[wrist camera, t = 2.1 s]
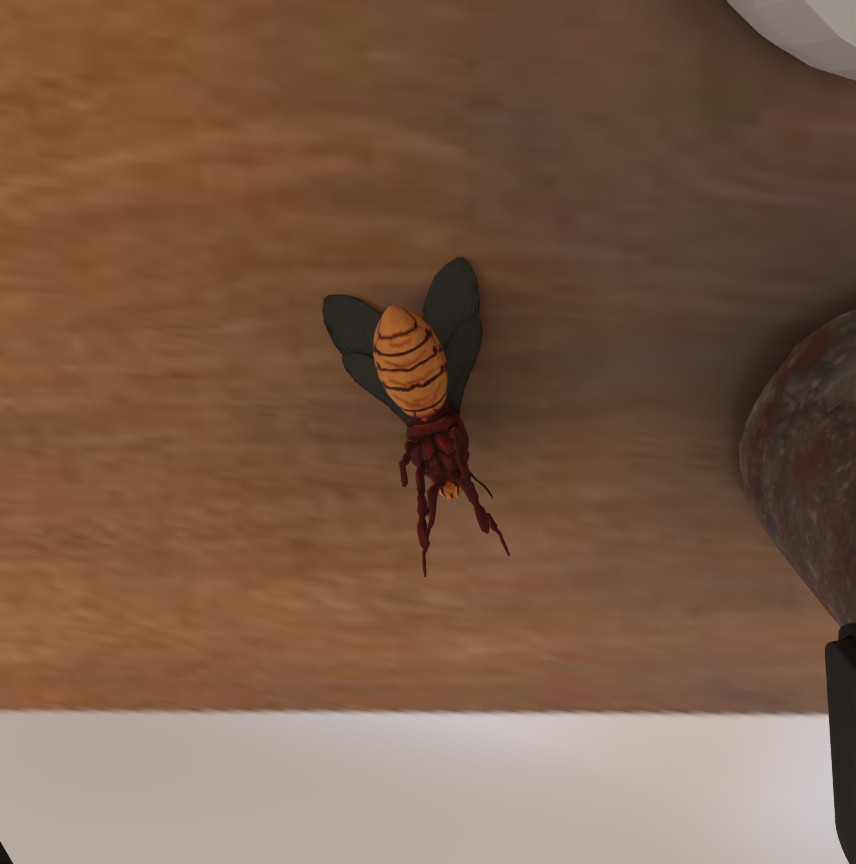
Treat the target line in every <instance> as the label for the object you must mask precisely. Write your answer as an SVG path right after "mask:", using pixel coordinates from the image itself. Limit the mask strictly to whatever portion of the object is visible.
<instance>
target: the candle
mask: <svg viewBox="0 0 856 864" xmlns="http://www.w3.org/2000/svg"><path fill="white" fill-rule="evenodd" d="M739 456H740V464H739V467H740V470H741V473H742V475H743V488H744V491H745V494H746V497H747V499H748V502H749V504H750V506H751V509H752V510H753V512H754V514H755V516H756V518H757V519H758V521H759V523H760V525H761V526H762V527H763V529H764V530H765V531H766V533H767V534H768V535H769V537H770V538H771V539H772V541H773V542H774V543H775V545H776V546H777V548H778V549H779V550H780V552H781V553H782V554H783V555H784V556H785V558H786V559H787V560H788V562H789V563H790V564H791V566H792V567H793V568H794V570H795V571H796V573H797V574H798V575H799V576H800V577H801V578H802V580H803V581H804V582H805V583H806V584H807V586H808V587H809V588H810V590H811V591H812V592H813V593H814V595H815V596H816V597H817V599H818V600H819V601H820V602H821V603H822V605H823V606H824V607H825V608H826V610H827V611H828V612H829V613H830V615H831V616H832V617H833V618H834V620H835V621H836V622H837V623H838V624H839V626H840V627H841V626H843V625H845V624H848V623H853V622H856V309H855V310H852V311H849V312H846V313H843V314H841V315H838V316H836V317H834V318H833V319H831V320H830V321H829V322H827V323H826V324H825V325H824V326H822V327H821V328H819V329H817V330H815V331H813V332H812V333H811V334H810V335H808V336H807V337H806V338H805V339H803V340H802V341H801V342H800V343H798V344H797V345H796V346H795V347H794V348H793V350H792V351H791V353H790V354H789V355H788V357H787V358H786V360H785V361H784V362H783V364H782V365H781V367H780V368H779V369H778V371H777V372H776V373H775V375H774V376H773V377H772V378H771V380H770V381H769V382H768V383H767V384H766V386H765V387H764V389H763V391H762V393H761V394H760V396H759V398H758V400H757V401H756V403H755V405H754V407H753V410H752V412H751V415H750V416H749V418H748V419H747V422H746V426H745V429H744V433H743V436H742V438H741V441H740V444H739Z"/></svg>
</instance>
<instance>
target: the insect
mask: <svg viewBox="0 0 856 864" xmlns="http://www.w3.org/2000/svg"><path fill="white" fill-rule="evenodd" d="M322 310H323V317H324V323H325V325H326V328H327V330H328V332H329V334H330V336H331V338H332V341H333V343H334V344H335V346H336V347H337V348H338V350H339V351H340V352H341V354H342V355H343V356H342V362H343V365H344V367H345V369H346V371H347V372H348V373H349V374H350V375H351V377H352V378H353V379H354V380H355V381H356V382H357V383H358V384H359V385H360V386H362V387H363V388H364V389H365V390H367V391H368V392H369V393H370V394H372V395H373V396H374V397H376V398H377V399H379V400H380V401H381V402H383V403H384V404H386V405H387V406H388V407H389V408H390V409H391V410H392V411H393V412H394V413H396V414H397V415H398V416H399V417H400V418H401V419H402V420H403V421H404V422H405V424H406V425H407V426H408V427H407V431H406V439H407V441H406V443H405V450H406V453H405V454H404V455H403V459H402V460H401V461H400V462H399V465H400V472H401V481H402V487H406V485H407V484H408V478H407V473H406V467H405V466H406V465H408V464H409V462H410V460H412V462H413V464H414V465H415V466H416V467H417V468H418V469H417V471H416V484H417V491H418V493H419V494H418V497H417V501H418V508H417V512H418V514H419V522H418V524H417V533H418V538H419V542H420V545H421V547H422V548H423V551H422V556H423V572H424V577H426V559H425V554H426V552H427V549H428V547H429V545H430V542H429V534H430V530H431V528H432V526H433V525H434V520H435V513H436V504H437V495H438V492H439V494H440V495H441V496H443V497H444V498H445V499H448V500H451V499H452V498H458V497H459V495H460V493H461V491H462V490H463V491H464V492H465V494H466V496H467V497H468V499H469V502H471V503H472V504H473V506H474V510H475V514H476V517H477V520H478V523H479V526H480V528H481V531H483V532H485V533H487V534H488V533H489V527H490V528H491V529H492V530H493V531H495V532H496V533H497V534H498V535H499V537H500V540H501V542H502V544H503V546H504V548H505V550H506V552H507V555H508V556H509V555H510V553H509V550H508V548H507V546H506V544H505V541H504V539H503V536H502V534H501V532H500V531H499V530H498V529H497V524H496V523H495V521H494V520H493V518H492V516H491V515H490V513H486V511H485V509H484V508H483V507H482V506H481V505H480V503H479V501H478V498H479V496H478V493H477V491H476V489H475V486H474V484H473V482H472V481H471V476H472V477H473V478H474V479H475V480H476V481H477V482H478V483H480V484H481V485H482V486H483V487H484V488H485V489H486V490H487V492H488V493H489V494H490V496H491V497H492V499H493V496H492V494H491V493H490V491H489V490H488V488H487V487H486V486H485V485H484V484H483V483H481V482H480V481H478V480H477V479H476V478H475V476H474V475H473V474H472V473H471V472H470V471H469V467H468V463H467V462H468V460H469V452H468V448H469V441H468V435H467V432H466V429H465V426H464V424H463V422H462V420H461V418H460V416H459V414H460V405H461V401H462V397H463V393H464V389H465V385H466V383H467V380H468V378H469V375H470V373H471V371H472V368H473V366H474V363H475V361H476V358H477V355H478V352H479V349H480V345H481V338H482V324H481V321H480V319H479V317H478V312H479V294H478V286H477V279H476V276H475V274H474V272H473V270H472V267H471V266H470V265H469V263H468V262H467V261H466V260H465V259H464V258H456V259H455V260H453V261H451V262H450V263H448V264H447V265H445V266H444V267H443V268H442V269H441V271H440V272H439V273H438V274H437V275H436V276H435V277H434V279H433V282H432V284H431V287H430V289H429V292H428V294H427V297H426V299H425V303H424V307H423V311H422V314H423V319H422V318H421V317H420V316H418V315H417V314H415V313H414V312H412V311H410V310H407V309H405V308H403V307H399V306H393V305H390V306H389V307H388V308H387V309H386V310H385V311H384V313H383V315H382V316H380V315H379V314H378V313H377V312H375V311H374V310H372V309H371V308H370V307H368V306H367V305H365V304H364V303H363V302H361V301H360V300H358V299H356V298H352V297H348V296H344V295H329V296H328V297H326V298H325V299H324V303H323V309H322ZM424 475H426V476H428V477H430V479H431V483H432V486H431V487H430V489H429V490H428V493H427V495H428V505H427V501H426V499H425V496H424V494H425V480H424ZM470 475H471V476H470ZM429 512H430V516H429ZM427 514H428V516H429V524H428V528H427V523H426V520H425V517H426V516H427ZM489 522H490V524H489Z"/></svg>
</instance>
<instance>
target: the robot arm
mask: <svg viewBox="0 0 856 864" xmlns="http://www.w3.org/2000/svg"><path fill="white" fill-rule="evenodd" d="M825 661H826V678H827V694H828V710H829V726H830V743H831V759H832V774H833V790H834V807H835V823H836V830H837V834H838V838H839V841H840V844H841V847H842V849H843V851H844V854H845V856H846V858H847V860H848V862H849V864H856V622H853V623H848V624H845V625H843V626H841V628H840V630H839V640H838V641H833V642H829V643H827V645H826V647H825ZM0 864H13V863H12V861H11V859H10V858H9V856H8V854H7V852H6V851H5V849H4V847H3V845H2V844H1V842H0Z"/></svg>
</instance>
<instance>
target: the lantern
mask: <svg viewBox="0 0 856 864" xmlns="http://www.w3.org/2000/svg"><path fill="white" fill-rule="evenodd" d="M727 1H728V3H729V4H730V5H731V6H732V7H733V8H734V9H735V10H736V11H737V12H738V13H739V14H740V15H741V16H742V17H743V18H744V19H745V20H746V21H747V22H748V23H749V24H750V25H751V26H752V27H753V28H754V29H755V30H756V31H757V32H758V33H759V34H760V35H762V36H763V37H764V38H766V39H767V40H769V41H770V42H772V43H773V44H775V45H776V46H778V47H780V48H781V49H783V50H785V51H786V52H788V53H789V54H791V55H793V56H794V57H796V58H798V59H799V60H801V61H803V62H804V63H806V64H808V65H809V66H811V67H814V68H817V69H820V70H823V71H826V72H830V73H833V74H836V75H839V76H842V77H845V78H848V79H851V80H855V81H856V0H727Z"/></svg>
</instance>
